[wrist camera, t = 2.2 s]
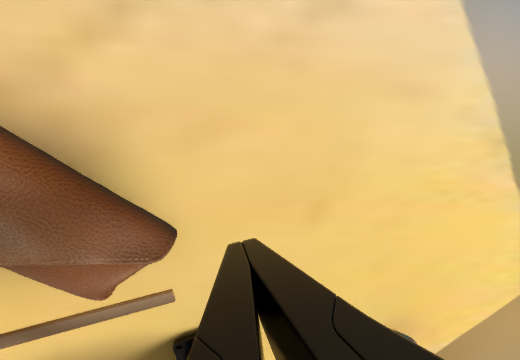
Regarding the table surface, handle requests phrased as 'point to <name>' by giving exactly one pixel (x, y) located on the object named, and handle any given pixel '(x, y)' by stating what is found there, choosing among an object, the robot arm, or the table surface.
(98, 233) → the sunglasses case
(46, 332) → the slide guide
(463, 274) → the table surface
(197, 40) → the table surface
